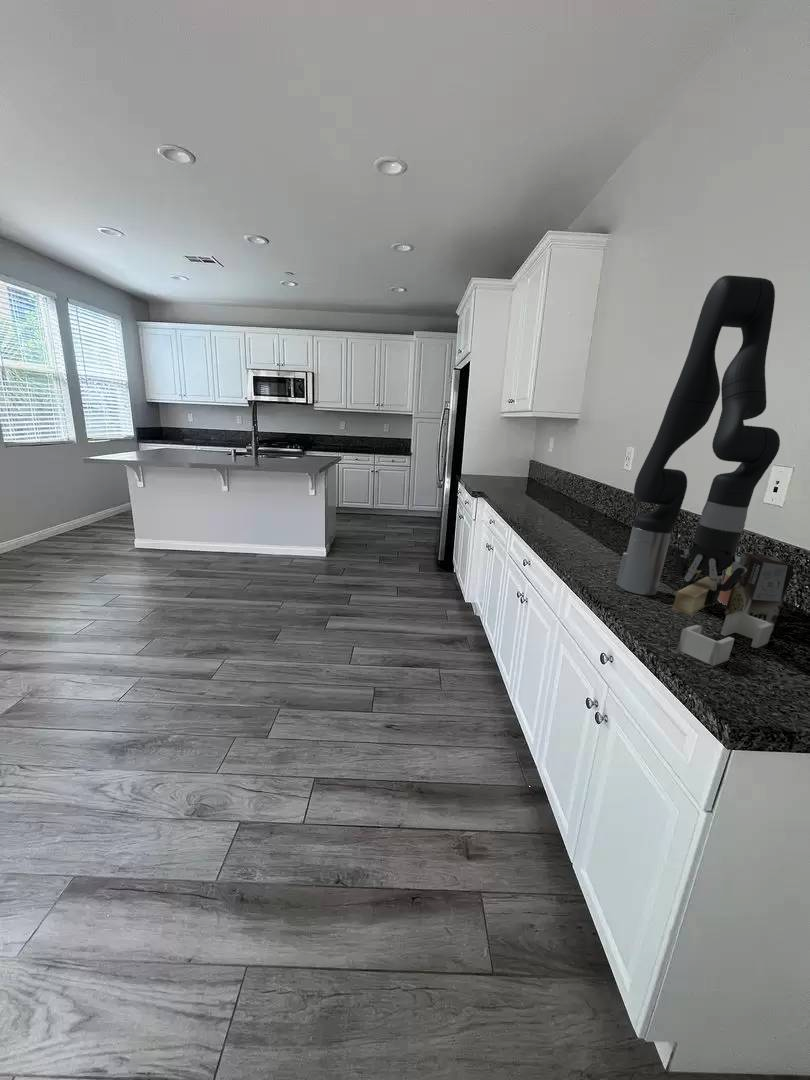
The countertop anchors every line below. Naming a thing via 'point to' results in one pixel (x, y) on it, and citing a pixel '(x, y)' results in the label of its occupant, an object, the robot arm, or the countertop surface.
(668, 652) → the countertop surface
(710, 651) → the end cap
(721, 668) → the countertop surface
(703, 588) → the oak bar
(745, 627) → the end cap
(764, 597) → the coffee box
